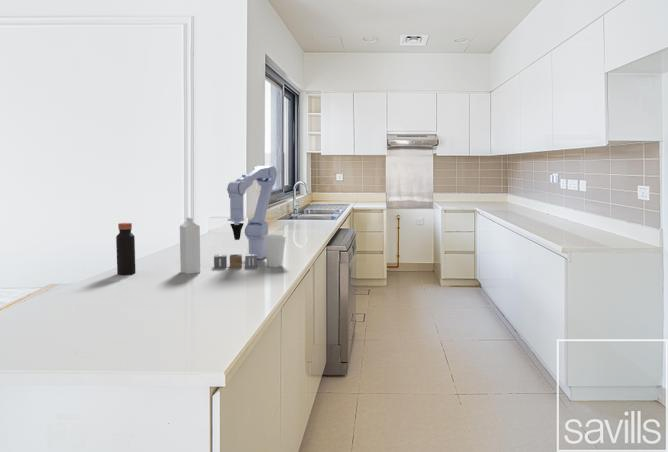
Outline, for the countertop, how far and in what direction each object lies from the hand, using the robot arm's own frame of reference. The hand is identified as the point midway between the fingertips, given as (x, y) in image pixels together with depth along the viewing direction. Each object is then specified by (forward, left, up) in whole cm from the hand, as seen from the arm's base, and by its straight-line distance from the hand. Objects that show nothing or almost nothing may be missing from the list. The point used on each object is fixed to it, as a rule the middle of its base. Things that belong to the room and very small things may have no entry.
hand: (237, 239), depth 249 cm
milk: (+26, -8, -11) cm, 29 cm away
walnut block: (+9, +4, -10) cm, 14 cm away
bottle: (+37, -30, -11) cm, 49 cm away
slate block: (+6, +9, -10) cm, 15 cm away
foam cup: (+1, +18, -11) cm, 21 cm away
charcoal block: (+11, -2, -10) cm, 16 cm away
